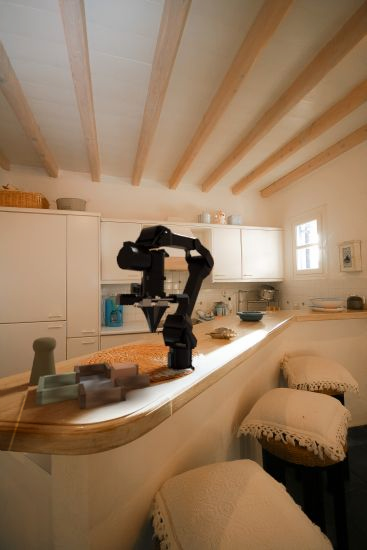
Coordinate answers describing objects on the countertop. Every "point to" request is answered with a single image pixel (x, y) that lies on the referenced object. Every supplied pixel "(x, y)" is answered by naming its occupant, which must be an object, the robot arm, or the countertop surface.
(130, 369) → the block
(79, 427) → the countertop surface
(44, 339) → the olive green pepper mill
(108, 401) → the trap lane
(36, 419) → the countertop surface
